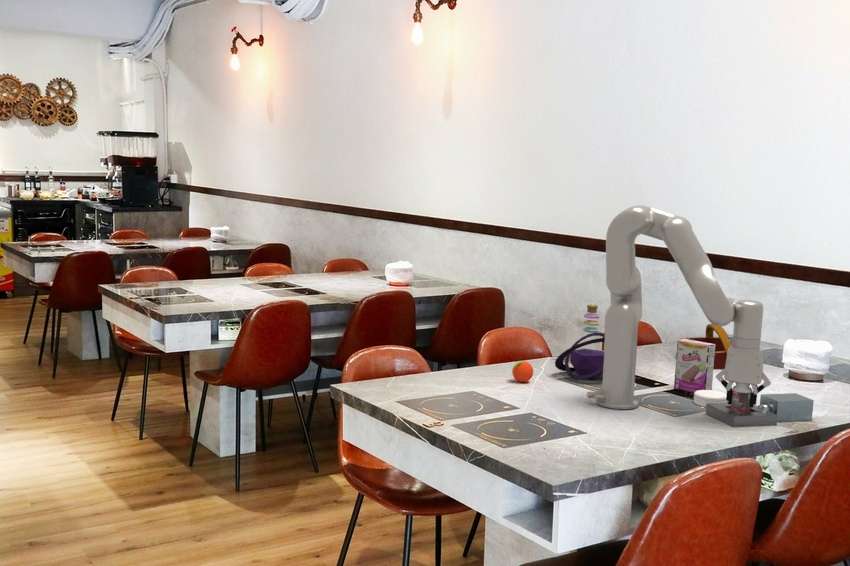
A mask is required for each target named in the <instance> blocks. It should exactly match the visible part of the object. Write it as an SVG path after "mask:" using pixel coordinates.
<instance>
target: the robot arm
mask: <svg viewBox="0 0 850 566" xmlns="http://www.w3.org/2000/svg"><path fill="white" fill-rule="evenodd" d="M640 235H643V236H646V237H650V238H653V239H656V240H660V241H663V242H664V245H665V246H666V247H667V249H668V252H669V253H670V254H671V256H672V258H673V259H674V261H675V264H676V265H677V266H678V268H679V270H680V272H681V274H682V276H683V279H684V280H685V282H686V284H687V286H689V289H690V290H691V292H692V294H693V296H694V297H695V300H696V302H697V304H698V305H699V307H700V309H701V310H702V313H703V315H704V316H705V317H706V319H707V320H708V322H709V323H710V324H713V325H715V326H721V327H725V326H727V325H729V324H730V323H731V322H732V323H733V331H732V332H733V333H732V336H730V337H728V338H727V342H730V343H731V344H732V346H730V347H729V349H728V353H727V357H726V364H725V368H724V369H721V370H720V371H719V372H718V373H717V374H716V375H715V379H717V380H718V382H719V383H721V385H722V386H723V387H724V389H725V390H726V394H727V396H726V401H728V402H727V403H728V404H729V405H730V404H731V399H732V389H733V385H734V383H743V384H750V385H751V389H752V394H751V403H750V407H751V408H753V406H754V405H756V406H757V401H758V400H757V398H758V394H759V393H760V392H762V391H763V390H764V389H767V388H768V387H770V386H771V385H772V382H771V380H770V378H768V376H767V375H766V374H765V372H764V355H763V349H762V348H761V342H762V340H761V338H762V331H763V330H762V328H763V318H764V316H763V315H764V304H763V303H762V302H761V301H758V300H755V299H754V300H753V299H736V298H731V297H727V296H726V295H725V293H724V291H723V289H722V286H721V285H720V283H719V282H718V280H717V277H716V274H715V272H714V268H713V265H712V262H711V260H710V258H709V256H708V254H707V253H706V252H705V250H704V248H703V246H702V244H701V243H700V241H699V239H698V237H697V236H696V233H694V231H693V226H692V223H691V222H690V221H689V220H688V219H687V218H685V217H683V216H680V215H676V214H672V213H669V212H665V211H663V210H659V209H656V208H654V207H650V206H646V205H641V204H639V205H633V206H630V207H628V208H626V209H624V210H623V211H621V212H619V213H618V214H617V215H616V216H615V217H614V218H613V219H612V220H611V222H610V223H609V224H608V228H607V231H606V236H605V268H606V269H605V274H606V275H605V276H606V277H605V284H606V287H607V290H608V291H609V292H610V306H609V307H608V308H607V310H606V313H605V316H604V317H605V318H604V334H605V342H604V346H603V351H604V363H603V373H602V381H601V387H598V390H596V391H587V392H586V398H587V399H594V400H595V403H596V404H597V405H598V406H601V407H603V408H608V409H613V410H614V409H616V410H633V409H636V408H639V401H638V400H637V399H634V398H635V397H634V396H635V385H636V371H637V370H636V367H637V353H638V350H637V349H638V328H639V327H638V326H639V322H640V321H641V319H642V316H643V295H642V294H643V292H642V275H641V272H640V270H639V268H638V267H636V243H635V241H636V239H637V238H638V237H637V236H640ZM762 382H763V383H762Z"/></svg>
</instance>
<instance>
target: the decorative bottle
mask: <svg viewBox="0 0 850 566" xmlns="http://www.w3.org/2000/svg"><path fill="white" fill-rule="evenodd" d="M586 308H587V311H586V312H587V313H584V315H583V317H584V318H587V319H588V320H585V321H583V324H584V325H586V326H587V327H584V328H583V329H582V331H583V332H586V333H588V334H587V335H584V336H582V337H581V338H579V339H577V340H576V341H575V342H574V343H573V344H572V345H571V346H570V347H569V348H567V349H566V350H565V351H563V352H562V353H560V354H559V356H557V358H556V359H555V361H554V367H555V368H556V369H557V370H559V371H563V372H566V373H567V374H568V375H569V376H571V378H574V379H577V380H595V379H598V378H599V377H600V376H601V375H603V363H604V350H600V349H598V350H597V349H591V348H582V347H585V346H589V345H592V344H596V343H597V344H598V343H605V332H599V331H600V330H599V329H598V328H597V327H594V326H599V325H600V323H599V322H598V321H597V320H594V319H599V318H601V316H600V315H599V314H598V313H597V312H598V305H597V304H592V303H589V304H587V305H586ZM589 319H591V320H589ZM592 319H593V320H592ZM589 326H591V327H589ZM596 336H598V337H599V338H593V339H590V340H586V339H588V338H590V337H591V338H592V337H596ZM584 340H585V341H584ZM569 360H570V364H571V366H570V365H569ZM574 372H576V373H577V374H576V373H574Z"/></svg>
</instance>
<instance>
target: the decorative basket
mask: <svg viewBox="0 0 850 566" xmlns="http://www.w3.org/2000/svg"><path fill="white" fill-rule="evenodd" d="M714 333H715V334H716V335H717V336H718V337H717V336H715V337H714ZM728 337H729V334H728V333H727V331H726V330H725V329H724V327H723V326H715V325H713V324H712V323H709V324H706V327H705V336H703V337H701V336H700V337H696V336H695V337H692V336H691V337H682V338H679V340H681V339H688V340H694V341H699V342H705V343H711V344H715V357H714V369H713V370H723V369H724V368H725V364H726V357H727V353H728V349H729V347H730V346H732V344H731V343H730V342H727V338H728Z"/></svg>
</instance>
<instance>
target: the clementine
mask: <svg viewBox="0 0 850 566" xmlns="http://www.w3.org/2000/svg"><path fill="white" fill-rule="evenodd" d="M511 372H512V377H513V378H514V379H515V380H516V381H517V382H520V383H526V382H528V381H530V380H531V379H532V378H533V375H534V368H533V366H532V365H531V363H529V361H525V360H521V361H517V362H516V363H515V364H514V365H513V368H512V371H511Z"/></svg>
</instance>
